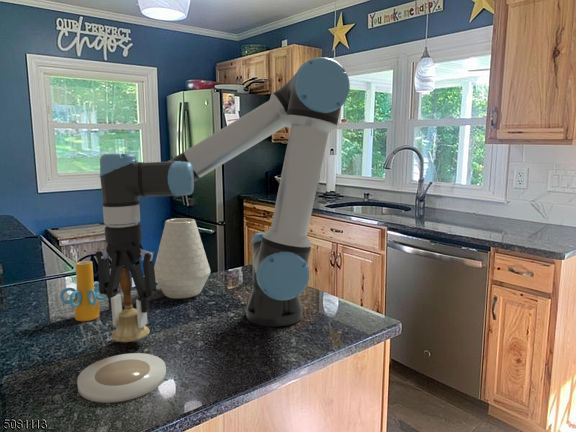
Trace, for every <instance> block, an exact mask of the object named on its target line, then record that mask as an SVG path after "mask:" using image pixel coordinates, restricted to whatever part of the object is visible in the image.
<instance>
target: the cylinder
mask: <svg viewBox="0 0 576 432" xmlns="http://www.w3.org/2000/svg"><path fill="white" fill-rule="evenodd" d="M75 275H76V289H75V288H73V287H66V288H64V289H62V291H61V292H60V294H59V299H60V300H61V302H63V303H64V304H68V305H69V304H70V307H72V308H74V311H73V312H74V319H75V320H76V322H88V321H93V320H96V319H98V318H99V317H100V301H104V300H107V299H108V297H107V295H105V296H100V295H101V294H100V293H99V281H94V267H93V261H92V260H82V261H77V262H75ZM95 285H97V286H96V287H95ZM68 291H69V292H72V293H70V295H69V300H67V299H65V297H64V295H65V293H66V292H68Z"/></svg>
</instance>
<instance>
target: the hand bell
mask: <svg viewBox="0 0 576 432" xmlns="http://www.w3.org/2000/svg"><path fill="white" fill-rule="evenodd" d="M119 287H120V289H121V291H122V294H123V295H122V296H123V305H124V309H122V311H121V312H120V313H119V319H118V325H117V326H116V329H115V330H114V331H113V332H112V334H111V335H110V337H111V340H113V341H115V342H116V343H117V342H118V343H128V342H135V341H139V340H142V339H144V338H146V337H147V336H149V335H150V333H151V330H150V328H149V327H148V326H147V325H145V326H143V327H142V328H138V320H137V308H134V307H133V302H132V301H133V299H132V295H131V294H132V293H131V292H132V288H133V278H132V275H131V272H130V271H129V270H128V268H127V267H126V266H123V267H122V268H121V273H120V282H119Z"/></svg>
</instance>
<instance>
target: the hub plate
mask: <svg viewBox="0 0 576 432" xmlns="http://www.w3.org/2000/svg"><path fill="white" fill-rule="evenodd" d="M166 376H167V366H166V362H165V361H164V360H163V359H162V358H160V357H159V356H156V355H154V354H151V353H150V354H149V353H143V352H141V353H139V352H137V353H136V352H134V353H133V352H132V353H131V352H130V353H122V354H118V355H113V356H109V357H106V358H103V359H100V360H97V361H95V362H93V363H92V364H90V365H88V366H87V367H85V368H84V369H83V370H82V371H81V372H80V373H79V374H78V376H77V380H76V382H77V383H76V384H77V392H78V394H79V395H80V396H81V397H82V398H83V399H85V400H88V401H90V402H95V403H103V404H104V403H106V404H107V403H119V402H125V401H131V400H134V399H137V398H140V397H142V396H144V395H147V394H149V393H151V392H153V391H155V390H156V389H157V388H159V386H161V385H162V384H163V383H164V381H165V379H166V378H167V377H166Z"/></svg>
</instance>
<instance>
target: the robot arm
mask: <svg viewBox="0 0 576 432" xmlns="http://www.w3.org/2000/svg"><path fill="white" fill-rule="evenodd" d="M350 86H351V84H350V78H349V75H348V73H347V72H346V69H345V68H344V67H343V66H342V65H341V64H340V63H339V62H338V61H336V60H334V59H332V58H331V57H330V58H329V57H322V56H320V57H314V58H312V59H309V60H307V61H306V62H303V64H301V66H300V67H299V68H298V69H297V71H296V73H295V74H294V75H293V76H292V77H291V78H290V80H288V81H287V83H285V84H284V85H283V86H282V87H281V88H279V89H278V90H276V91H275V92H273V93H271V94H270V98H269V100H268V101H265V102H264V103H262V104H261V105H259V106H258V107H256V108H254V109H253V110H250V111H249V112H247V113H246V114H244V115H242V116H241V117H239V118H237V119H236V120H234V121H233V122H231V123H229V124H227V125H226V126H224V127H223V128H221V129H219V130H218V131H216V132H214V133H213V134H211V135H210V136H207V137H206V138H204V139H203V140H201V141H200V142H198V143H196V144H195V145H192V146H191V147H189V148H188V149H186V150H184V151H183V152H181V153H180V154H178V155H176V156H175V157H173V158H171V159H170V160H168V161H154V162H150V161H149V162H144V161H143V162H141V161H138V159H137V155H136V154H134V153H106V154H102V155H101V156H100V158H99V179H100V186H101V198H102V213H103V215H102V217H103V224H104V225H106V226H105V227H104V236H105V237H104V239H105V243H106V244H107V245H106V248H105V249H101V250H98V251H95V258H96V261H97V269H98V270H97V273H98V282H99V293H100V294H99V295H105V296H106V295H107V297H108V298H107V299H108V300H107V301H108V309H109V311H111V316H112V318H111V319H112V326H113V327H117V325H118V319H119V313H120V312H121V311H123V305H122V295H121V294H119V293H120V291H119V287H120V273H121V268H122V267H124V266H126V267H127V268H128V270H129V272H130V274H131V277H132V282H133V283H134V285H135V289H136V292H137V295H138V298H137V299H136V300H135V303H136V306H135V307H136V309H137V320H138V328H142V327H143V326H147V325H148V312H149V311H150V298H151V297H152V296H154V295H156V294H157V292H158V291H157V282H156V280H155V271H154V267H155V263H154V262H155V257H156V252H155V251H154V250H152V251H148V250H146V249H144V247H143V245H142V239H143V235H142V234H143V233H142V225H141V224H140V222H141V211H140V210H141V209H140V198H141V197H142V198H143V197H144V198H145V197H173V196H174V197H182V196H190V195H192V194H193V193H194V190H195V182H196V181H198V180H199V179H200V178H202V177H204V176H205V175H208V173H210V172H212V171H214V170H216V169H217V168H218V167H221V166H222V165H224V164H225V163H227V162H228V161H231V160H232V159H234V158H235V157H237V156H239V155H240V154H242V153H243V152H245V151H247V150H249V149H251V148H252V147H253V146H256V145H257V144H258V143H260V142H262V141H263V140H265V139H267V138H268V137H271V136H273V134H275V133H277V132H278V131H281V130H282V129H283V128H289V129H290V131H289V135H288V141H287V145H286V149H285V153H284V154H285V155H284V160H283V164H282V165H283V166H282V170H281V176H280V180H279V185H278V191H277V194H276V199H275V203H274V204H275V205H274V211H273V216H272V221H271V226H270V229H268V230H267V231H265V232H264V231H263V232H257V233H254V234H253V236H252V242H251V246H252V290H251V294H250V296H249V299H248V303H247V306H246V312H245V313H246V319H247V320H248V322H251V323H252V324H255V325H258V326H264V327H276V328H277V327H284V326H285V327H286V326H290V325H294V324H296V323H298V322H300V321H301V320H302V319H303V305H302V303H301V300H300V295H301V294H302V293H303V292H304V291H305V290H306V289H307V286H308V285H309V283H310V282H309V281H310V272H311V271H310V268H309V259H310V254H311V249H312V242H311V241H310V239H309V237H308V233H309V227H310V224H311V223H310V222H311V218H312V213H313V208H314V203H315V199H316V193H317V189H318V185H319V179H320V175H321V171H322V165H323V160H324V156H325V151H326V147H327V142H328V137H329V134H330V133H331V132H332V131H333V130H335V129H337V127H338V123H339V119H340V113H341V108H342V107H343V106H344V104H345V102H347V99H348V96H349V94H350V88H351V87H350ZM140 258H141V259H140ZM110 260H111V261H110ZM141 261H142V262H141ZM142 268H143V269H142Z"/></svg>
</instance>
